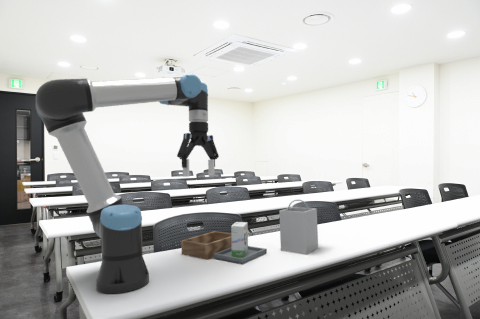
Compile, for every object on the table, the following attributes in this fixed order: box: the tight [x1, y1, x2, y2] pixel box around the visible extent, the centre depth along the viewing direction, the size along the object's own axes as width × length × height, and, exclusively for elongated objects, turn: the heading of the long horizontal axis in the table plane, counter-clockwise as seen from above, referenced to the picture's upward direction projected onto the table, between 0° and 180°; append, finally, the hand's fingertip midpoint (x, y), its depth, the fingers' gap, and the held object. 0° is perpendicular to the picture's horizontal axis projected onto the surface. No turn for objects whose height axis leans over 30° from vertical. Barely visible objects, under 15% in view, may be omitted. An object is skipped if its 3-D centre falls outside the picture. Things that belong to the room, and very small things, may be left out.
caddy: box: [278, 206, 319, 255], centre depth 131 cm, size 11×11×16 cm
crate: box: [180, 231, 232, 260], centre depth 133 cm, size 20×14×6 cm
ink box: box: [230, 221, 249, 257], centre depth 124 cm, size 9×5×12 cm, turn 168°
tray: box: [212, 245, 267, 265], centre depth 124 cm, size 16×14×2 cm
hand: (199, 176), depth 127 cm, fingers open, 13 cm apart
